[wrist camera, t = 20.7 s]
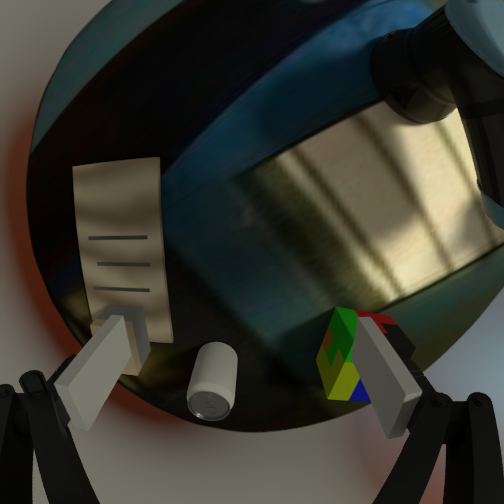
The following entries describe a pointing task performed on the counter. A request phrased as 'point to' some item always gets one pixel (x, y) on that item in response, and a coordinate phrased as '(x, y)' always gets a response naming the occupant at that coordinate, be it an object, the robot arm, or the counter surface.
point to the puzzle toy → (340, 350)
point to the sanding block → (129, 333)
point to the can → (213, 382)
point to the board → (123, 239)
